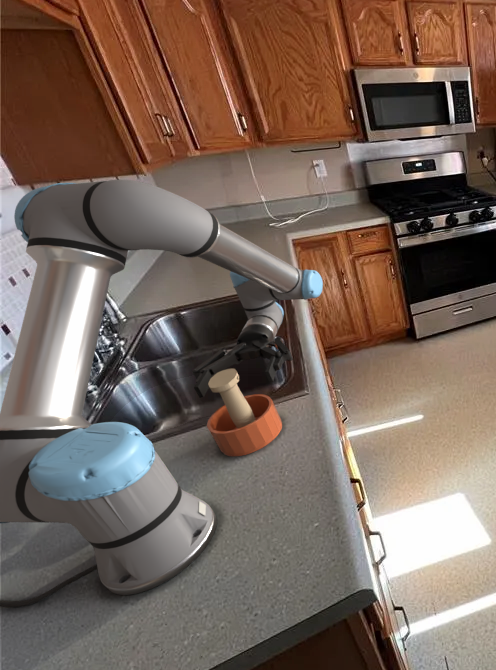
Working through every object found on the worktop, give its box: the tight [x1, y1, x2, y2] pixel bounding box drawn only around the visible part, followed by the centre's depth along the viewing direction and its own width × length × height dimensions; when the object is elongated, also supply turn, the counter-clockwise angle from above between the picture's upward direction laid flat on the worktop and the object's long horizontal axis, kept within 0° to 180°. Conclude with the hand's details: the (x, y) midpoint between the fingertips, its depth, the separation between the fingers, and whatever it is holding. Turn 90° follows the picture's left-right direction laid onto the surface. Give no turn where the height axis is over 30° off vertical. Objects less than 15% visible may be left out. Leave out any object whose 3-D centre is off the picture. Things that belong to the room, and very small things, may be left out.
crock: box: [206, 393, 283, 457], centre depth 89 cm, size 12×12×6 cm
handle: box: [208, 368, 256, 428], centre depth 87 cm, size 5×6×15 cm
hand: (234, 384), depth 88 cm, fingers open, 13 cm apart
